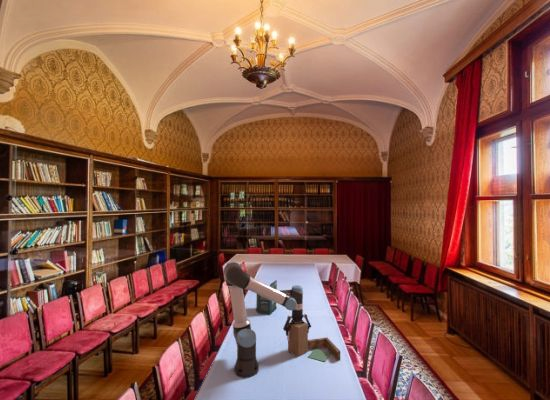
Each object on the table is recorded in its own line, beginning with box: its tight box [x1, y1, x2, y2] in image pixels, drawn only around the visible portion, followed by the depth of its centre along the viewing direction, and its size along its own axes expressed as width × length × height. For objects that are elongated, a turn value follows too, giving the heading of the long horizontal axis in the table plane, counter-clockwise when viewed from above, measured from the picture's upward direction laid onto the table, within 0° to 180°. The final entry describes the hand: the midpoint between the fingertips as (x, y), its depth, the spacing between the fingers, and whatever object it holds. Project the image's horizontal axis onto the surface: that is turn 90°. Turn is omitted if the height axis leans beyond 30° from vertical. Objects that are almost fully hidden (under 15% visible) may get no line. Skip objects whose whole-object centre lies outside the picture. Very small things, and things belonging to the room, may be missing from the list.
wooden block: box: [287, 321, 309, 358], centre depth 209 cm, size 10×10×20 cm
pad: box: [307, 348, 332, 363], centre depth 204 cm, size 12×12×1 cm
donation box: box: [255, 279, 278, 316], centre depth 283 cm, size 16×16×28 cm
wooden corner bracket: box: [308, 337, 341, 361], centre depth 206 cm, size 16×20×6 cm
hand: (297, 338), depth 209 cm, fingers closed on wooden block, 13 cm apart
